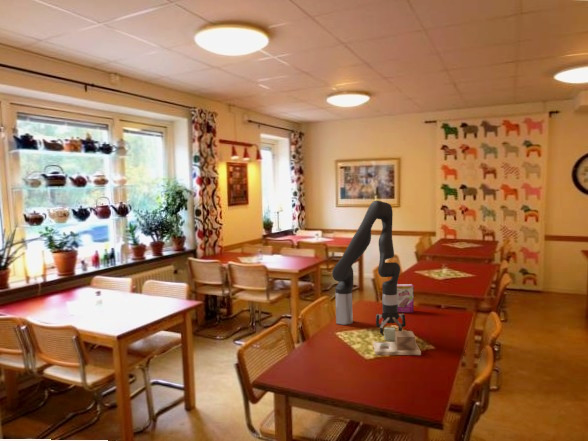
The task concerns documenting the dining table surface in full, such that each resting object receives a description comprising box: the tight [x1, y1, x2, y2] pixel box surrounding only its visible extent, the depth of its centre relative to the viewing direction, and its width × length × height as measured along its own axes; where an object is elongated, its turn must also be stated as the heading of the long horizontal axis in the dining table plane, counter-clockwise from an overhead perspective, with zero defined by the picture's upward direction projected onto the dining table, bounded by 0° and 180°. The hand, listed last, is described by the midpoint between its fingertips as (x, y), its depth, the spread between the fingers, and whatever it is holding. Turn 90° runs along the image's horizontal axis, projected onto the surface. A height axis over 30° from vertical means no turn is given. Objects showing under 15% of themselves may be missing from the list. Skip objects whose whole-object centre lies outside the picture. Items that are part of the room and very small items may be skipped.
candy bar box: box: [397, 283, 415, 314], centre depth 249 cm, size 11×5×16 cm, turn 84°
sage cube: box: [383, 327, 397, 342], centre depth 205 cm, size 5×5×5 cm
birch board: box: [372, 341, 422, 356], centre depth 191 cm, size 20×12×2 cm, turn 84°
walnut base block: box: [394, 330, 416, 350], centre depth 191 cm, size 8×8×6 cm
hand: (390, 334), depth 205 cm, fingers open, 8 cm apart
